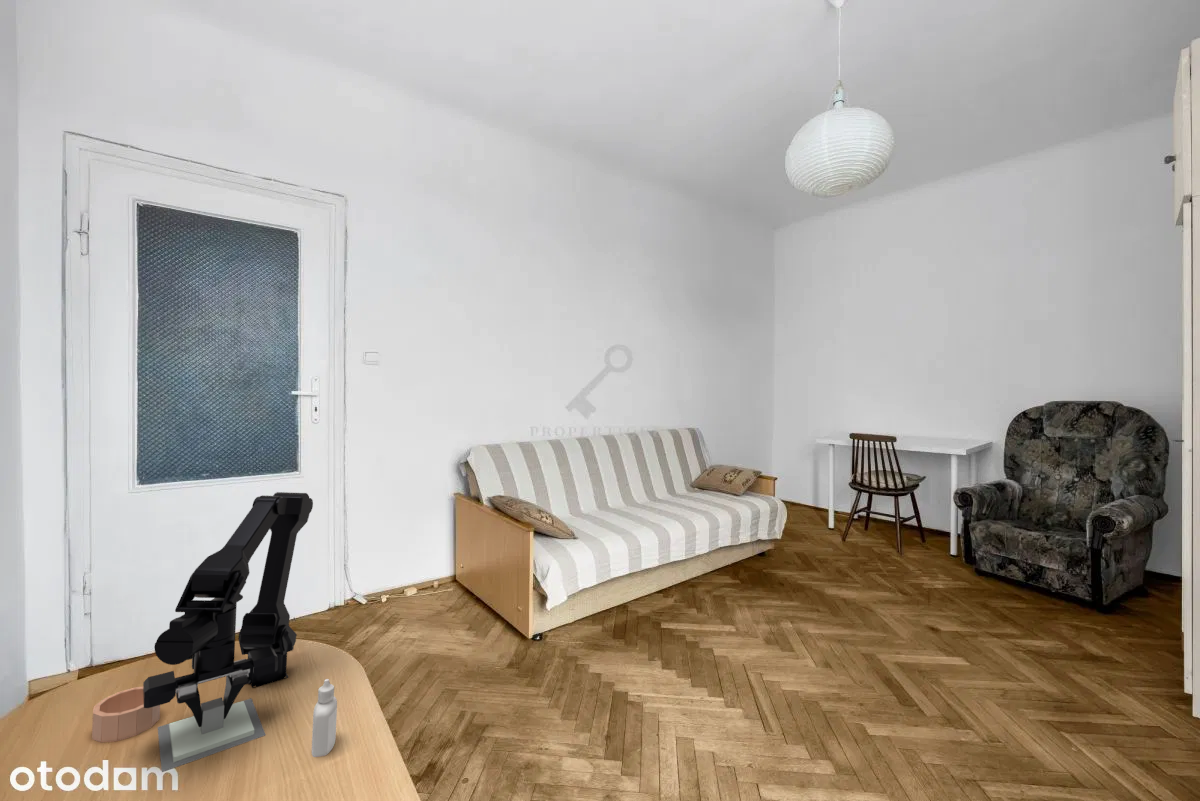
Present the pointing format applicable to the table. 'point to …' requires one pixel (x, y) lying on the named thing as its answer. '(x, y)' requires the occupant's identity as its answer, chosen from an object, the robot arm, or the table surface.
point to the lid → (209, 729)
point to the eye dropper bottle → (324, 721)
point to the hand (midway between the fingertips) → (211, 722)
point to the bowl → (122, 716)
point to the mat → (168, 757)
